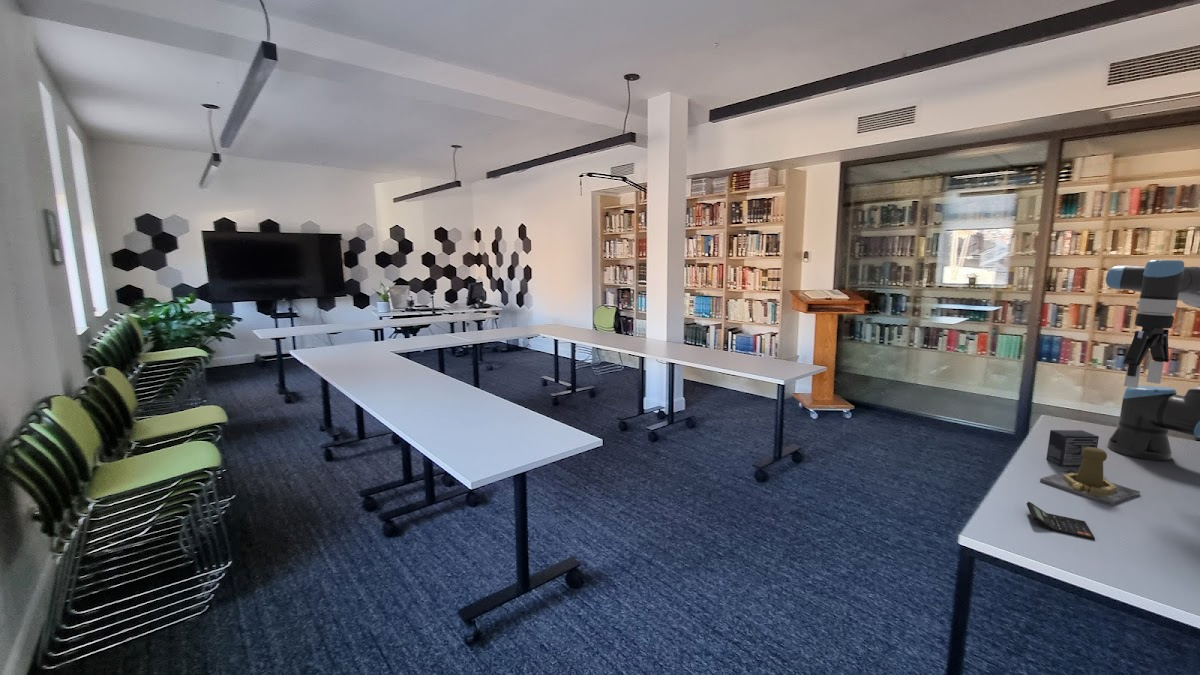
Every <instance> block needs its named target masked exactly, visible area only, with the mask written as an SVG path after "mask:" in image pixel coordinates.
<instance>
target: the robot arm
mask: <svg viewBox="0 0 1200 675" xmlns="http://www.w3.org/2000/svg"><path fill="white" fill-rule="evenodd" d="M1105 284H1106V286H1108V288H1111V289H1115V290H1119V291H1121V290H1127V291H1133V292H1139V293H1140V295H1139V300H1137V301H1136V304H1137V305H1138V306H1137V312H1138V313H1136V316H1135V322H1134V325H1135V326H1136V327H1141V328H1142V329H1141V330H1135V331H1134V335H1133V339H1132V340H1131V343H1130V346H1129V348H1128V351H1127V352H1126V355H1125V358H1124V360H1123V362H1122V363H1123V364H1124V365H1127V366H1126V371H1125V379H1124V384H1123V386H1124V387H1126V389H1125V390H1124V394H1123V397H1122V402H1121V403H1122V404H1121V408H1120V415H1119V419H1118V425H1117V427H1116V429H1115V431H1113V433H1112V435H1111V436H1110V437H1109V438H1108V442H1107V448H1109V450H1112V451H1113V452H1117V453H1119V454H1123V455H1125V456H1129V457H1134V458H1139V459H1143V460H1150V461H1151V460H1152V461H1169V460H1171V459H1172V455H1173V454H1172V453H1173V451H1172V447H1171V444H1170V441H1169V437H1168V433H1169V430H1170V431H1173V432H1176V433H1181V434H1185V435H1188V436H1193V437H1195V438H1198V439H1200V383H1198V384H1199V385H1198V386H1197V387H1191V388H1189V389H1188V390H1187V391H1186V392H1185V395H1179V394H1177V393H1178V392H1177V390H1176V389H1175V388H1171V387H1165V386H1155V385H1151V386H1150V385H1139V383H1140V377H1141V372H1142V365H1141V364H1142V362H1143V360H1144V358H1145V356H1146V355H1147V353H1148V352H1149V351H1150V354H1151V360H1150V361H1149V364H1148V365H1149V366H1148V371H1147V372H1148V373H1147V377H1146V382H1147V383H1153V384H1158V385H1159V384H1161V379H1162V374H1163V369H1164V366H1165V365H1164V364H1165V363H1169V361H1170V354H1169V353H1170V352H1169V350H1170V349H1169V332H1170V331H1169V329H1171V328H1173V327H1174V325H1173V324H1174V321H1175V316H1174V315H1173V314H1176V312H1177V305H1178V301H1180V302H1182V303H1183V304H1185V305H1186V306H1189V307H1193V308H1197V309H1200V266H1185V262H1184V261H1183V260H1178V259H1177V260H1176V259H1172V260H1171V259H1170V260H1169V259H1150V260H1148V261H1147V262H1146V264H1145V266H1144V265H1127V264H1126V265H1115V266H1113V267H1111V268H1110V269H1109V270H1108V271H1107V273H1106V277H1105Z"/></svg>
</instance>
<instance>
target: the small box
mask: <svg viewBox="0 0 1200 675" xmlns="http://www.w3.org/2000/svg"><path fill="white" fill-rule="evenodd" d="M1099 439H1100V436H1099V435H1096V434H1093V433H1091V432H1088V431H1084V430H1081V429H1080V430H1079V429H1078V430H1075V429H1072V430H1068V429H1058V430H1057V429H1050V431H1049V438H1048V445H1047V451H1046V458H1045V460H1046V461H1048V462H1051V463H1052V464H1055V465H1056V466H1058V467H1060V468H1080V466H1081V463H1082V461H1083V458H1084V457H1083V456H1082V450H1083V449H1084V448H1085V447H1094V448H1098V444H1099Z"/></svg>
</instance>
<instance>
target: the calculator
mask: <svg viewBox="0 0 1200 675" xmlns="http://www.w3.org/2000/svg"><path fill="white" fill-rule="evenodd" d="M1026 506H1027V509H1028V511H1029V513H1030V516H1031V519H1032V520H1034V521H1035V522H1036V523H1038V524H1040V525H1042V526H1043V527H1044V528H1045V529H1047V530H1049V531H1051V532H1054V533H1060V534H1065V535H1067V536H1068V535H1069V536H1074V537H1076V538H1077V537H1078V538H1083V539H1086V540H1091V541H1096V537H1095V536H1094V534H1093V532H1092V531H1091V529H1090V528H1089V526H1088V524H1087V522H1086V521H1085V520H1081V519H1078V518H1077V519H1076V518H1074V517H1073V518H1072V517H1066V516H1063V515H1062V516H1061V515H1057V514H1053V513H1049V512H1046V511H1045V510H1042V509H1041V508H1039V506H1036V505H1035V504H1034V503H1032V502H1030V501H1027V502H1026Z"/></svg>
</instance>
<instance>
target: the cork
mask: <svg viewBox="0 0 1200 675" xmlns="http://www.w3.org/2000/svg"><path fill="white" fill-rule="evenodd" d="M1082 456H1083V457H1084V458H1083V461H1082V463H1081V466H1080V467H1079V468H1078V471H1077V472H1078V474H1077V477H1076V479H1075V481H1077V482H1080V483H1083V484H1086V485H1089V486H1096V487H1103V477H1104V462H1105V461H1106V460H1107V458H1108V454H1107V452H1106V451H1105V450H1104V449H1101V448H1098V447H1097V448H1094V447H1085V448H1084V449H1083V450H1082Z"/></svg>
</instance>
